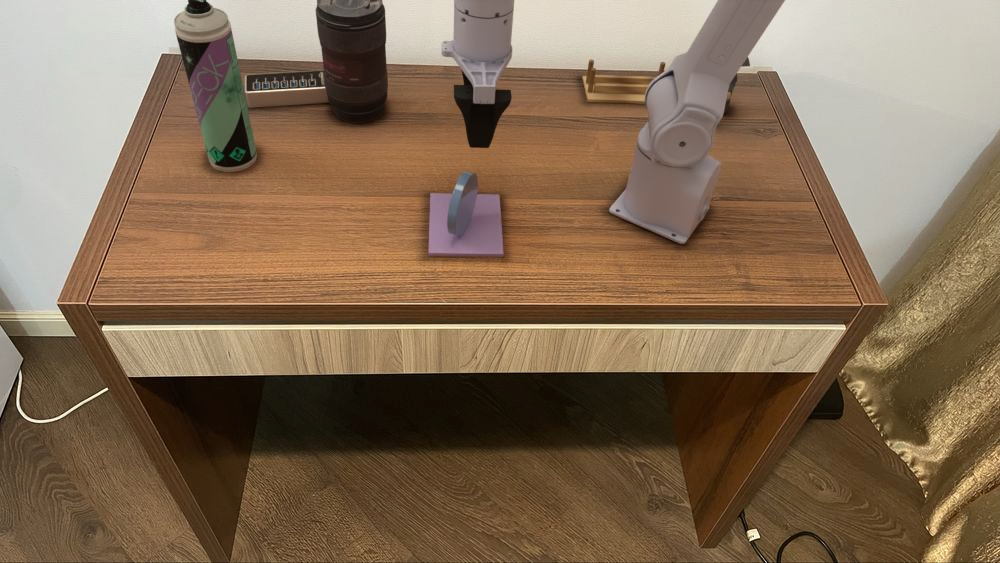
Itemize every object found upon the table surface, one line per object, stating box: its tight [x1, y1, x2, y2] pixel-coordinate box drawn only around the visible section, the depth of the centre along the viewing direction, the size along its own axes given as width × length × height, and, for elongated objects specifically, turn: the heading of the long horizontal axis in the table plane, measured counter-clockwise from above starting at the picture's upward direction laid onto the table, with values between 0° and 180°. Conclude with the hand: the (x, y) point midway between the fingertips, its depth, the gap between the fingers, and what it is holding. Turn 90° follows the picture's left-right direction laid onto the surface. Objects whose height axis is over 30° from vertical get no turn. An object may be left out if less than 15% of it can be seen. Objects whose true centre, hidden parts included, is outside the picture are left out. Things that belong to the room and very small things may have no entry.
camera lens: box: [315, 0, 389, 124], centre depth 93 cm, size 8×8×15 cm
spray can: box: [173, 0, 258, 173], centre depth 83 cm, size 6×6×20 cm
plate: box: [447, 170, 479, 236], centre depth 81 cm, size 7×1×7 cm, turn 162°
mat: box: [428, 192, 505, 258], centre depth 84 cm, size 10×8×1 cm
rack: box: [581, 59, 666, 105], centre depth 104 cm, size 11×6×4 cm, turn 93°
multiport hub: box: [244, 69, 330, 109], centre depth 99 cm, size 4×11×2 cm, turn 103°
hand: (478, 124), depth 82 cm, fingers open, 7 cm apart
